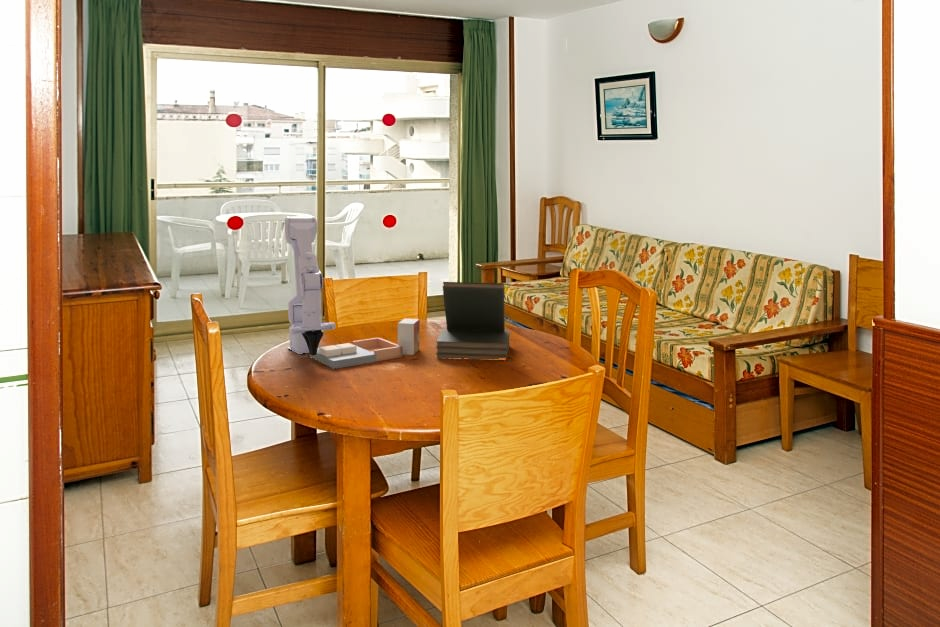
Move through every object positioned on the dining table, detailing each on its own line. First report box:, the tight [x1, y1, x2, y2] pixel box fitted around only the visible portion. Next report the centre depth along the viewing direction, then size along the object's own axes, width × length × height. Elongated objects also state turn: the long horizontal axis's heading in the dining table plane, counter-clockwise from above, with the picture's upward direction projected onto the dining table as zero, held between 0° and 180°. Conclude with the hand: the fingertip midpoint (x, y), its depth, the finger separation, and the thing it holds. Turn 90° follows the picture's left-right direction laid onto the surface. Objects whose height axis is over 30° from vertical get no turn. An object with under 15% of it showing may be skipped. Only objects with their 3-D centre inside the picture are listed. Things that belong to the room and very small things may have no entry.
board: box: [309, 345, 377, 370], centre depth 252 cm, size 16×15×2 cm
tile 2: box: [334, 342, 357, 354], centre depth 252 cm, size 5×5×2 cm
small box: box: [397, 318, 421, 356], centre depth 263 cm, size 8×6×10 cm
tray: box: [352, 337, 404, 362], centre depth 260 cm, size 15×10×4 cm, turn 37°
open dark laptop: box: [435, 281, 511, 360], centre depth 262 cm, size 23×20×25 cm
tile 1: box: [318, 344, 341, 357], centre depth 249 cm, size 5×5×2 cm
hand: (313, 354), depth 246 cm, fingers closed
